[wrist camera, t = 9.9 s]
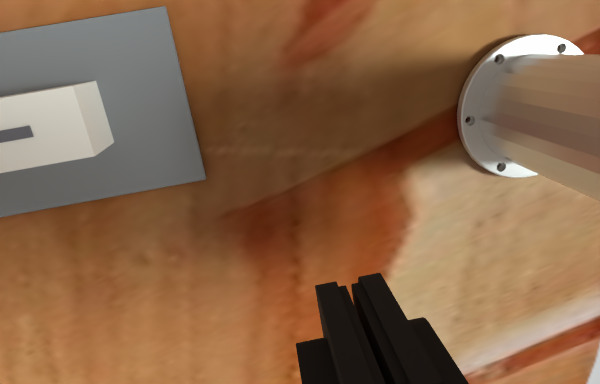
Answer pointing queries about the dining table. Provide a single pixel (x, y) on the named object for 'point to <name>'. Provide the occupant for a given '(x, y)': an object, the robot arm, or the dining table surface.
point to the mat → (105, 107)
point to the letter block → (52, 126)
